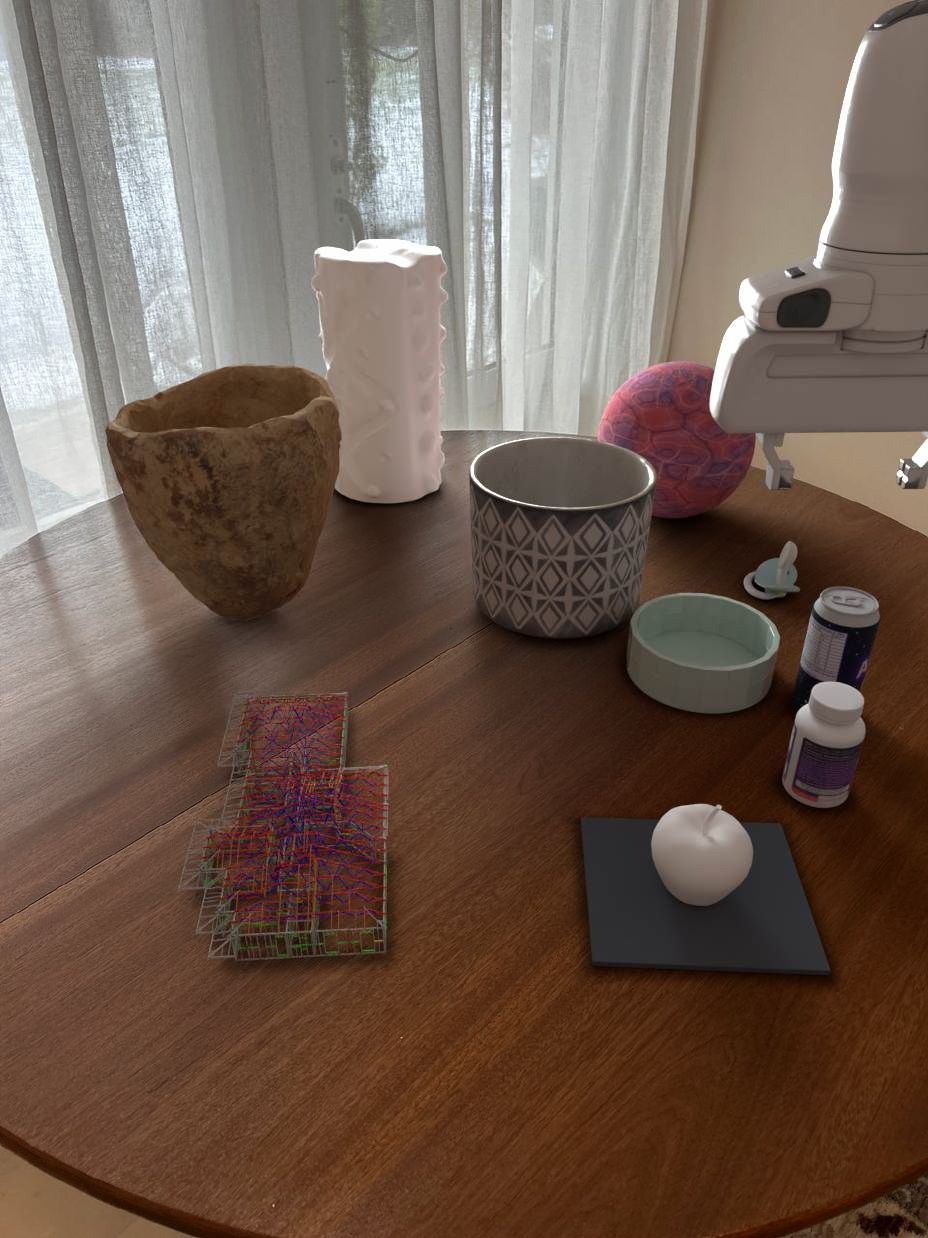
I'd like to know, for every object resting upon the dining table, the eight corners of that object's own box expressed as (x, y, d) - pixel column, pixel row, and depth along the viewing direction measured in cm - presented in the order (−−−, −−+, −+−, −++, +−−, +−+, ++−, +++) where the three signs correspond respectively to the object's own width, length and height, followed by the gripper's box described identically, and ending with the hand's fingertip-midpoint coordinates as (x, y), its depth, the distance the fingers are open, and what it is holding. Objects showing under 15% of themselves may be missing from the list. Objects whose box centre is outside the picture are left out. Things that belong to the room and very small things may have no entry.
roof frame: (231, 712, 88) (224, 666, 85) (391, 705, 89) (388, 660, 86) (164, 983, 62) (150, 931, 60) (389, 971, 63) (385, 919, 60)
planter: (491, 664, 95) (493, 517, 86) (454, 574, 111) (452, 443, 102) (668, 642, 98) (687, 499, 89) (607, 558, 114) (618, 430, 105)
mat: (780, 827, 75) (781, 823, 74) (829, 975, 63) (831, 971, 62) (580, 821, 75) (581, 816, 75) (592, 966, 63) (592, 961, 63)
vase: (307, 481, 135) (284, 247, 118) (394, 452, 144) (384, 232, 127) (380, 517, 124) (366, 267, 107) (468, 484, 134) (468, 249, 117)
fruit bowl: (753, 634, 99) (761, 594, 97) (786, 715, 87) (796, 672, 84) (620, 631, 100) (624, 591, 97) (634, 711, 88) (639, 668, 85)
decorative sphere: (567, 521, 123) (576, 372, 112) (627, 471, 137) (640, 335, 127) (713, 558, 114) (738, 399, 103) (761, 500, 128) (787, 356, 118)
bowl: (203, 554, 115) (168, 353, 102) (375, 571, 112) (363, 364, 98) (108, 652, 97) (51, 421, 84) (312, 677, 93) (286, 439, 80)
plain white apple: (746, 931, 65) (765, 849, 61) (644, 915, 66) (656, 833, 62) (741, 858, 71) (758, 779, 67) (647, 845, 72) (658, 766, 68)
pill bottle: (861, 802, 77) (889, 709, 72) (805, 816, 76) (829, 721, 71) (822, 762, 81) (845, 670, 76) (768, 773, 80) (788, 682, 75)
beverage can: (853, 733, 85) (884, 621, 79) (789, 720, 87) (814, 609, 80) (854, 698, 89) (883, 590, 83) (792, 686, 91) (816, 579, 85)
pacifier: (743, 603, 105) (799, 607, 104) (750, 554, 102) (808, 558, 101) (741, 573, 111) (794, 576, 110) (748, 525, 108) (802, 529, 107)
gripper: (1024, 276, 63) (971, 469, 70) (717, 282, 64) (696, 471, 71) (1072, 297, 57) (1009, 503, 64) (736, 303, 58) (711, 505, 65)
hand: (843, 486), depth 68 cm, fingers open, 8 cm apart
